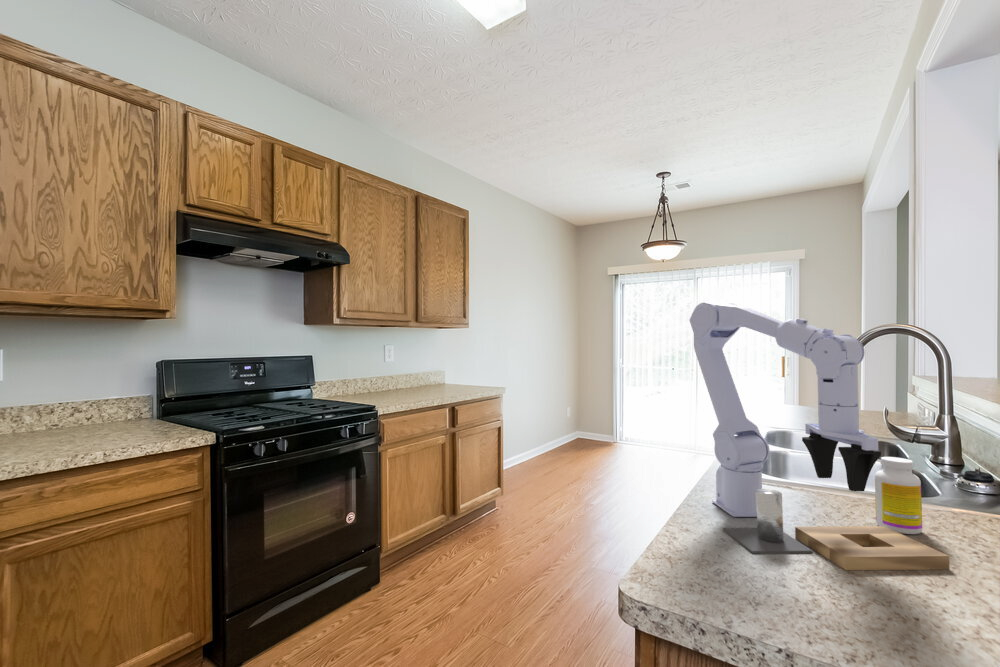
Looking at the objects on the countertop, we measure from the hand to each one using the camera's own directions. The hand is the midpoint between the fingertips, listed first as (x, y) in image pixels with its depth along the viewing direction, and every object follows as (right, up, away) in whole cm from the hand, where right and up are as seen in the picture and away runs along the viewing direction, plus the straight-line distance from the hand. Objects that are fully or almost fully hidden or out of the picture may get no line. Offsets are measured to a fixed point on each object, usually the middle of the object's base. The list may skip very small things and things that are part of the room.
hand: (839, 483), depth 81 cm
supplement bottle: (+16, -11, +7) cm, 20 cm away
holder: (+2, -10, -3) cm, 11 cm away
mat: (-12, -11, +2) cm, 16 cm away
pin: (-11, -10, +2) cm, 15 cm away
